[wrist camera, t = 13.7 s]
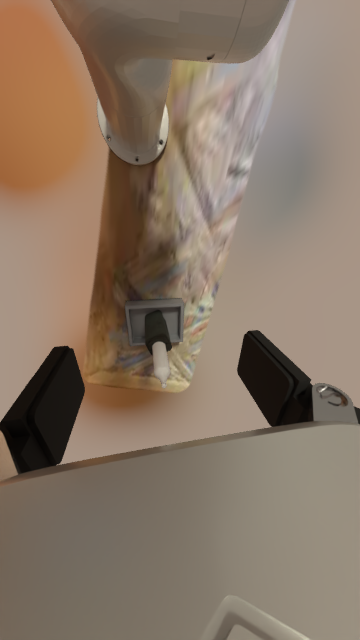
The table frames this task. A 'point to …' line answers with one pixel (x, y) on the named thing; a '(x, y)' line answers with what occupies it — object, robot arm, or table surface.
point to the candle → (158, 344)
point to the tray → (140, 308)
